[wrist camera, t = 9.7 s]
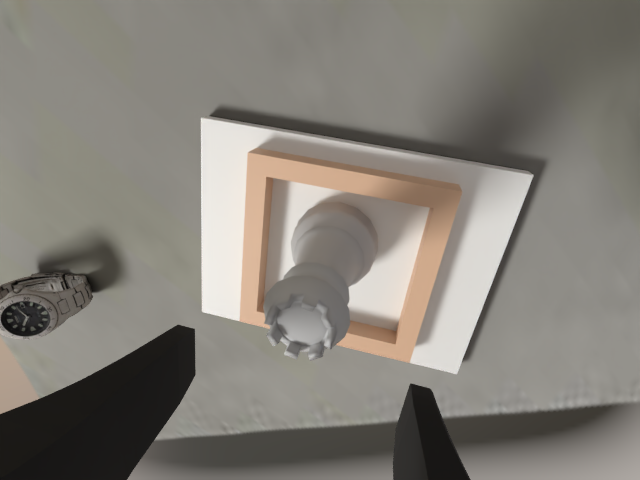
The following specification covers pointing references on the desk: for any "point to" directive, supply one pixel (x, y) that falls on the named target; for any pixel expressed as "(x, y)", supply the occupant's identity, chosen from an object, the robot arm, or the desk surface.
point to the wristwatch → (41, 303)
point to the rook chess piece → (320, 279)
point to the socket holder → (387, 218)
